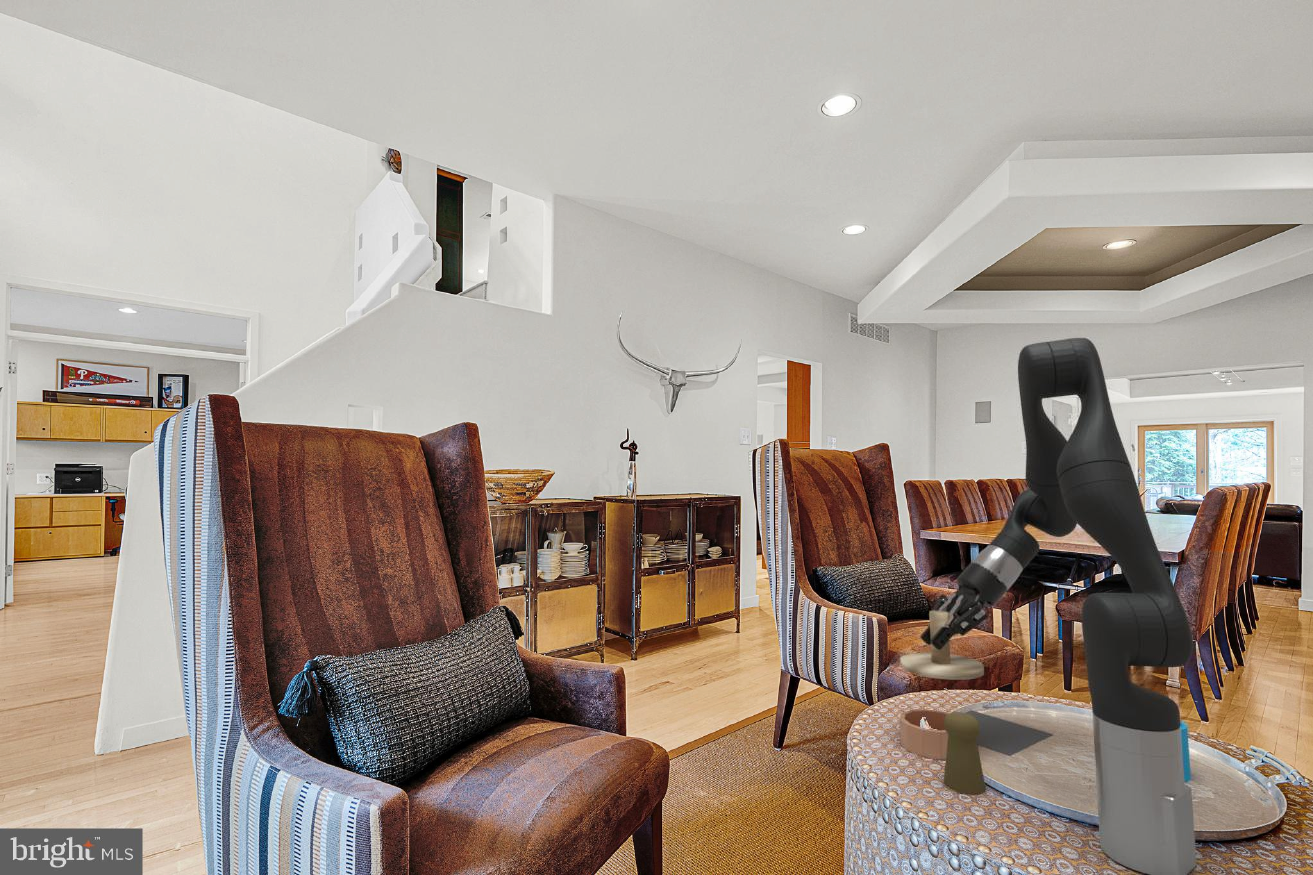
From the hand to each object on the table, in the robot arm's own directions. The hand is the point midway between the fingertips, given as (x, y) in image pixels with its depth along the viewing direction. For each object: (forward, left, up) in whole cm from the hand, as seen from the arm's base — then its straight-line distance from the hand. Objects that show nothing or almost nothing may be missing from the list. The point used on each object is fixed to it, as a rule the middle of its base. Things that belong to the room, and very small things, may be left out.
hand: (929, 643), depth 118 cm
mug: (-25, -20, -19) cm, 38 cm away
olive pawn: (-11, +10, -19) cm, 24 cm away
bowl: (0, +1, -18) cm, 18 cm away
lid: (-1, -2, -5) cm, 5 cm away
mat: (-2, -14, -18) cm, 24 cm away
